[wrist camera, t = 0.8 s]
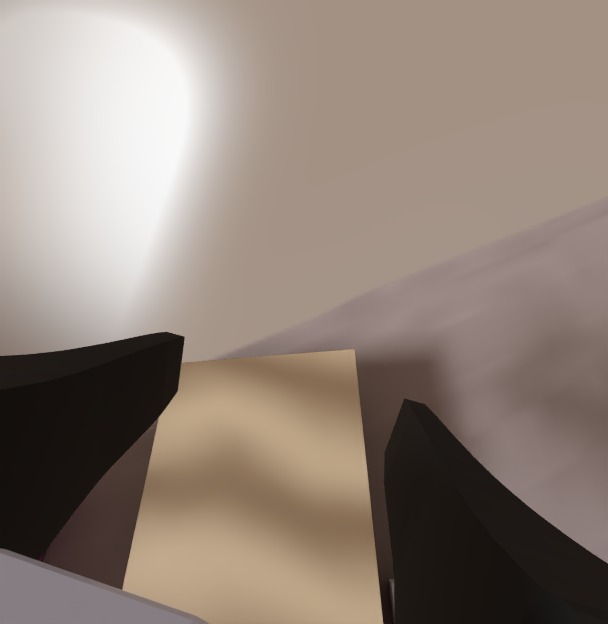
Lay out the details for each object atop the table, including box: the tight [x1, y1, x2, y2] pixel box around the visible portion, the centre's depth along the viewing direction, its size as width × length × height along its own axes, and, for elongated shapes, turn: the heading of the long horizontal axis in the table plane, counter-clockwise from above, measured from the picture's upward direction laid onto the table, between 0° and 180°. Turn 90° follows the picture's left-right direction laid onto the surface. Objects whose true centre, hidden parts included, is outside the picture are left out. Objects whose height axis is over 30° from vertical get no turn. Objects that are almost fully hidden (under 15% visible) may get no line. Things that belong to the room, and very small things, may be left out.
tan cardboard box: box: [122, 349, 383, 624], centre depth 21 cm, size 17×12×7 cm
